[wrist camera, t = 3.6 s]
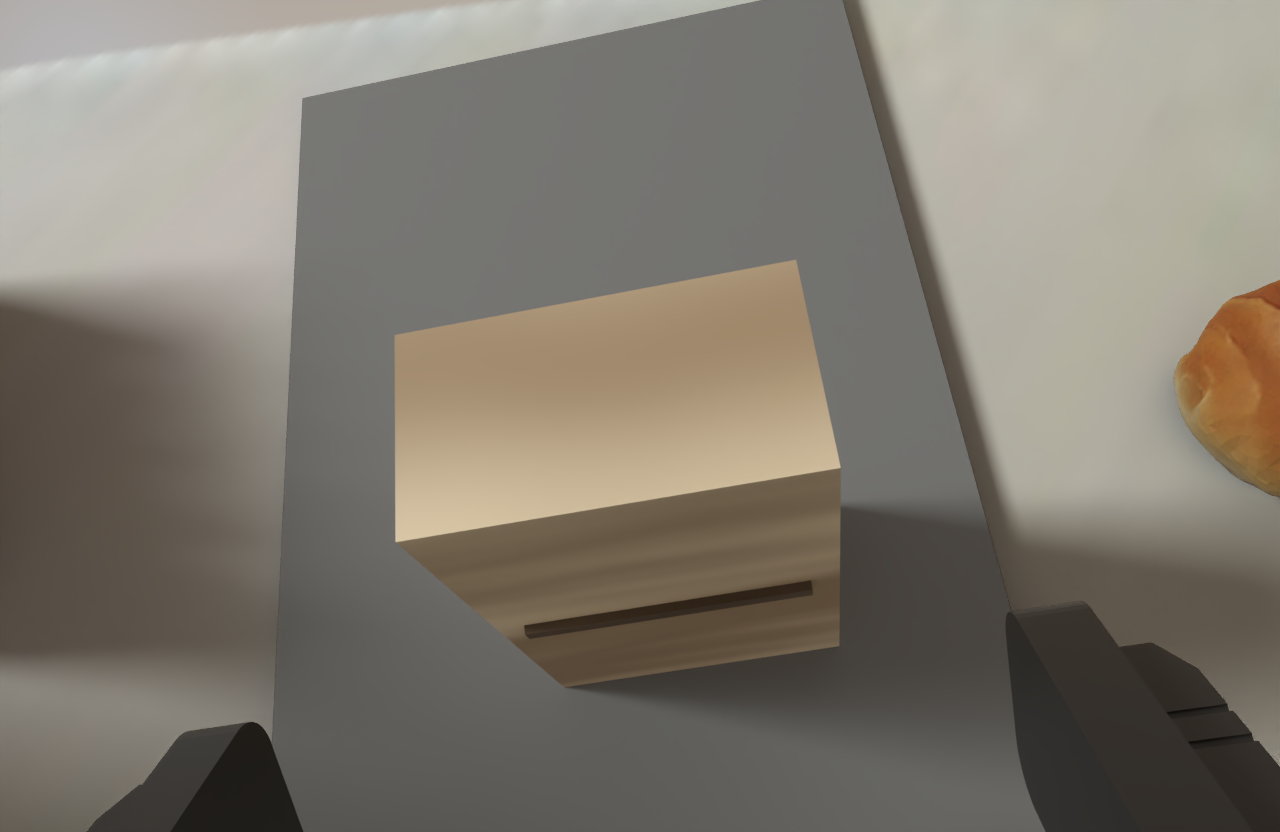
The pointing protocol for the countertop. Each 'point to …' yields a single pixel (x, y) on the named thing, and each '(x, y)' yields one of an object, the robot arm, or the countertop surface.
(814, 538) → the wooden block
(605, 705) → the mat
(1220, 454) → the pastry
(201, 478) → the countertop surface
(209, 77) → the countertop surface
